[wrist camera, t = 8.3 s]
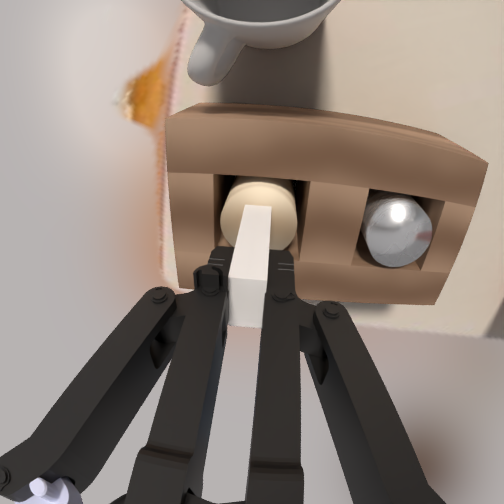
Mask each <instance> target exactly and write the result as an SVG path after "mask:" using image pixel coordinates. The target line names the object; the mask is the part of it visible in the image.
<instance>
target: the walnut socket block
mask: <svg viewBox="0 0 504 504" xmlns="http://www.w3.org/2000/svg"><path fill="white" fill-rule="evenodd" d="M165 135H166V156H167V172H168V187H169V199H170V211H171V222H172V232H173V241H174V250H175V259H176V267H177V275H178V283H179V288H185V289H194V278H193V272H194V271H195V269H197V268H198V267H200V266H203V265H207V263H208V260H209V257H210V254H211V251H212V250H213V249H214V248H216V247H217V246H227V247H233V246H232V245H231V244H230V243H229V242H228V241H227V240H226V238H225V237H224V235H223V232H222V229H221V224H220V219H221V213H222V210H223V208H224V205H225V202H226V200H227V197H228V195H229V192H230V190H231V187H232V175H241V176H256V177H270V178H282V179H293V180H298V183H297V192H296V200H295V205H296V215H297V230H296V233H295V236H294V238H293V240H292V241H291V242H290V244H289V245H288V246H287V247H286V248H284V249H283V250H285V251H290V253H291V254H292V256H293V257H294V274H295V291H296V294H297V296H298V297H299V298H300V299H308V300H323V301H340V302H359V303H380V304H408V305H434V304H435V302H436V300H437V299H438V297H439V294H440V292H441V290H442V288H443V286H444V284H445V282H446V280H447V278H448V276H449V273H450V271H451V269H452V267H453V264H454V262H455V260H456V257H457V255H458V253H459V250H460V248H461V245H462V243H463V240H464V238H465V235H466V233H467V230H468V227H469V225H470V222H471V219H472V216H473V213H474V210H475V207H476V204H477V201H478V198H479V195H480V192H481V188H482V185H483V182H484V178H485V174H486V171H487V167H488V162H486V161H484V160H483V159H481V158H480V157H478V156H476V155H475V154H473V153H471V152H470V151H468V150H466V149H464V148H463V147H461V146H459V145H457V144H456V143H454V142H452V141H450V140H448V139H447V138H445V137H443V136H441V135H439V134H437V133H433V132H430V131H426V130H422V129H418V128H414V127H410V126H406V125H402V124H397V123H393V122H388V121H383V120H378V119H373V118H368V117H362V116H357V115H351V114H344V113H338V112H331V111H324V110H316V109H307V108H298V107H287V106H275V105H260V104H239V103H198V104H196V105H194V106H192V107H189V108H187V109H185V110H183V111H180V112H178V113H176V114H174V115H172V116H170V117H168V118H165ZM369 188H370V189H377V190H384V191H390V192H397V193H403V194H409V195H411V197H412V198H413V199H414V200H415V201H416V202H417V204H418V205H419V206H420V207H421V208H422V209H423V211H424V212H425V213H426V214H427V215H428V217H429V219H430V221H431V224H432V237H431V241H430V243H429V245H428V247H427V249H426V250H425V252H424V253H423V254H422V255H421V256H420V257H419V258H418V259H416V260H415V261H413V262H412V263H410V264H407V265H404V266H400V267H389V266H385V265H382V264H380V263H379V262H377V261H376V260H375V259H374V258H373V256H372V255H371V253H370V250H369V248H368V245H367V243H366V241H365V238H364V236H363V234H362V231H361V229H360V227H361V223H362V219H363V215H364V210H365V206H366V201H367V197H368V192H369Z"/></svg>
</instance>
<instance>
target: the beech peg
mask: <svg viewBox="0 0 504 504" xmlns="http://www.w3.org/2000/svg"><path fill="white" fill-rule="evenodd" d="M245 205H258V206H271V207H272V209H271V226H270V243H269V249H273V250H283V249H284V248H286V247H287V246H288V245H289V244H290V242H291V241H292V240H293V238H294V236H295V233H296V230H297V215H296V205H295V196H294V187H293V179H282V178H270V177H256V176H241V175H236V177H235V179H234V182H233V184H232V187H231V190H230V192H229V195H228V197H227V200H226V202H225V205H224V208H223V210H222V213H221V219H220V224H221V229H222V232H223V235H224V237H225V238H226V240H227V241H228V242H229V243H230V244H231V245H232V246H233V247H235V245H236V241H237V236H238V232H239V228H240V224H241V219H242V215H243V211H244V207H245Z"/></svg>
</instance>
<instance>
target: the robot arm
mask: <svg viewBox="0 0 504 504" xmlns="http://www.w3.org/2000/svg"><path fill="white" fill-rule="evenodd" d="M271 209H272V207H271V206H258V205H245V207H244V211H243V215H242V219H241V224H240V228H239V232H238V236H237V241H236V245H235V247H227V246H217V247H216V248H214V249H213V250H212V251H211V254H210V257H209V260H208V263H207V265H203V266H200V267H198V268H197V269H195V271H194V272H193V278H194V291H191V292H189V293H184V294H177V295H175V293H174V292H173V291H172V290H171V289H170V288H168V287H155V288H152V289H150V290H149V291H147V292H146V293H145V294H144V295H143V297H142V298H141V299H140V300H139V301H138V302H137V304H136V305H135V306H134V307H133V308H132V309H131V311H130V312H129V313H128V314H127V315H126V316H125V317H124V319H123V320H122V321H121V322H120V323H119V325H118V326H117V327H116V328H115V330H114V331H113V332H112V333H111V334H110V335H109V336H108V338H107V339H106V340H105V341H104V343H103V344H102V345H101V346H100V347H99V349H98V350H97V351H96V352H95V354H94V355H93V356H92V357H91V358H90V360H89V361H88V362H87V363H86V365H85V366H84V367H83V368H82V370H81V371H80V372H79V373H78V375H77V376H76V377H75V378H74V380H73V381H72V382H71V383H70V385H69V386H68V387H67V389H66V390H65V391H64V392H63V394H62V395H61V396H60V398H59V399H58V400H57V402H56V403H55V404H54V406H53V407H52V408H51V410H50V411H49V412H48V414H47V415H46V416H45V418H44V419H43V420H42V422H41V423H40V424H39V426H38V427H37V429H36V430H35V431H34V433H33V434H32V435H31V437H30V438H28V439H27V440H25V441H24V442H23V443H21V444H19V445H18V446H16V447H15V448H13V449H12V450H10V451H9V452H7V453H6V454H4V455H3V456H1V457H0V495H1V496H3V497H6V498H8V499H10V500H12V501H14V503H15V504H83V502H82V498H81V495H80V494H81V493H82V492H83V491H84V490H85V489H86V488H87V487H88V486H89V485H90V484H91V483H92V482H93V481H94V479H95V478H96V476H97V475H98V474H99V472H100V471H101V469H102V468H103V466H104V464H105V463H106V461H107V460H108V458H109V456H110V455H111V453H112V451H113V450H114V448H115V447H116V445H117V444H118V442H119V440H120V438H121V437H122V436H123V434H124V433H125V431H126V429H127V428H128V426H129V424H130V423H131V421H132V420H133V418H134V417H135V415H136V414H137V412H138V410H139V409H140V407H141V406H142V404H143V403H144V401H145V399H146V398H147V396H148V395H149V393H150V392H151V390H152V388H153V387H154V385H155V384H156V382H157V381H158V379H159V377H160V376H161V374H162V373H163V371H164V370H165V368H166V366H167V365H168V363H169V362H170V360H171V359H172V360H171V363H170V366H169V369H168V373H167V376H166V379H165V383H164V386H163V389H162V393H161V396H160V399H159V403H158V406H157V410H156V413H155V417H154V421H153V424H152V427H151V431H150V435H149V438H148V442H147V444H146V446H145V447H143V448H141V449H140V451H139V452H138V455H137V457H136V460H135V464H134V467H133V471H132V475H131V479H130V483H129V487H128V491H127V494H124V495H122V496H121V497H119V498H117V499H116V500H114V501H113V502H112V503H110V504H216V503H212V502H209V501H207V500H204V499H202V498H201V496H202V489H203V471H204V466H205V459H206V453H207V448H208V442H209V436H210V430H211V424H212V418H213V413H214V407H215V401H216V395H217V390H218V384H219V378H220V373H221V367H222V361H223V356H224V350H225V344H226V339H227V325H230V326H240V327H251V328H262V331H261V341H260V353H259V363H258V375H257V387H256V397H255V407H254V418H253V428H252V439H251V448H250V459H249V469H248V477H247V486H246V495H245V501H239V502H231V503H222V504H303V501H304V500H303V499H304V472H303V468H302V466H301V458H300V457H301V386H300V385H301V384H300V351H301V352H304V355H305V358H306V361H307V364H308V367H309V370H310V373H311V376H312V379H313V381H314V385H315V388H316V390H317V393H318V396H319V399H320V402H321V405H322V408H323V411H324V414H325V417H326V420H327V423H328V426H329V429H330V433H331V436H332V439H333V442H334V445H335V448H336V451H337V454H338V457H339V460H340V463H341V466H342V469H343V472H344V476H345V479H346V482H347V485H348V488H349V491H350V494H351V498H352V501H353V504H446V503H445V502H444V501H443V500H442V499H441V498H440V497H439V496H438V494H437V493H436V492H435V491H434V490H433V489H432V488H431V487H430V486H429V485H428V483H427V480H426V478H425V476H424V473H423V471H422V468H421V466H420V463H419V461H418V458H417V456H416V454H415V451H414V449H413V447H412V444H411V442H410V440H409V437H408V435H407V433H406V431H405V428H404V426H403V424H402V422H401V419H400V417H399V415H398V413H397V411H396V408H395V406H394V404H393V402H392V400H391V398H390V396H389V393H388V391H387V389H386V387H385V385H384V383H383V381H382V379H381V377H380V375H379V373H378V370H377V368H376V366H375V364H374V362H373V360H372V358H371V356H370V354H369V352H368V350H367V348H366V346H365V344H364V342H363V341H362V338H361V336H360V335H359V333H358V331H357V329H356V327H355V325H354V323H353V321H352V319H351V317H350V315H349V313H348V311H347V310H346V308H345V307H344V306H343V305H341V304H340V303H338V302H335V301H323V302H320V303H319V304H317V306H314V305H311V304H308V303H306V302H304V301H302V300H301V299H300V298H299V297H298V296H297V294H296V291H295V274H294V257H293V256H292V254H291V253H290V251H285V250H273V249H269V243H270V226H271Z"/></svg>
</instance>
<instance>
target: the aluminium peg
mask: <svg viewBox="0 0 504 504" xmlns="http://www.w3.org/2000/svg"><path fill="white" fill-rule="evenodd" d="M360 229H361V231H362V234H363V236H364V238H365V241H366V243H367V245H368V248H369V250H370V253H371V255H372V256H373V258H374V259H375V260H376V261H377V262H379V263H380V264H382V265H385V266H389V267H400V266H404V265H407V264H410V263H412V262H413V261H415V260H416V259H418V258H419V257H420V256H421V255H422V254H423V253H424V252H425V250H426V249H427V247H428V245H429V243H430V241H431V237H432V224H431V221H430V219H429V217H428V215H427V214H426V213H425V212H424V211H423V209H422V208H421V207H420V206H419V205H418V204H417V202H416V201H415V200H414V199H413V198H412V197H411V195H409V194H403V193H397V192H390V191H384V190H377V189H370V188H369V192H368V197H367V201H366V206H365V210H364V215H363V219H362V223H361V227H360Z"/></svg>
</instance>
